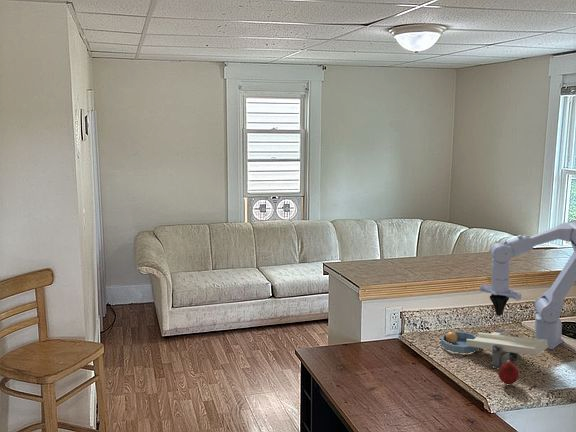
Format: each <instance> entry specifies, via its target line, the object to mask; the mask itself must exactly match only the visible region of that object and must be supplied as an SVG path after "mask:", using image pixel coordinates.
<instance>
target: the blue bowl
mask: <svg viewBox="0 0 576 432" xmlns="http://www.w3.org/2000/svg"><path fill="white" fill-rule="evenodd" d="M453 332H454V333H456V335H457V341H456V342H455V343H452V344H450V343H447V342H448V341H447V340H446V334H447V333H448V331H447V332H446V333H444V334H442V335H441V339H440V342H441V343H440V344H441V345H442V346H443V347H444V348H445V349H447V350H450V351H453V352H458V353H469V352H474V351H476V350H478V351H479V348H478V347H471V346H467V341H466V340H467V339H475V338H476V337H477V335H475V334H473V333H469V332H466V331H456V330H455V331H453ZM446 341H447V342H446ZM441 345H440V346H441Z"/></svg>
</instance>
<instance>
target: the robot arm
mask: <svg viewBox="0 0 576 432" xmlns="http://www.w3.org/2000/svg"><path fill="white" fill-rule="evenodd" d="M556 240H561V241H564V242H568V243H569V242H570V244H571V246H572V249H573V252H572V254H571V256H570V257H569V259H568V260H567V262H566V263H565V265H564V266H563V268H562V269H561V271H560V272H559V274H558V275H557V277H556V279H555V280H554V282H553V283H552V284H551V286H550V288H549V289H548V290H546V291H544V292H543V293H542V294H541V296H539V297H538V298H536V299H535V301H534V303H533V307H534V309H535V311H536V314H535V316H534V317H535V318H534V319H535V322H534V338H533V339H539V340H543V339H545V340H547V343H548V348H547V349H548V350H553V349H555V348H556V347H558V346H559V345H560V344H562V343H563V342H564V341H565V340H564V338H562V334H563V333H562V331H563V330H562V329H563V327H562V326H563V324H562V323H563V322H562V320H561V319H560V317H561V312H562V309H563V308H564V299H565V298H566V296H567V294H568V293H569V292H570V290H571V288H572V287H573V285H574V284H575V282H576V220H569V221H568V222H563V223H560V224H558V225H556V226H554V227H552V228H549V229H546V230H543V231H542V232H539V233H537V234H534V235H532V236H527V235H525V234H524V235H522V234H519V235H516V237H514V238H513V239H510V240H503V242H496V243H494V244H492V246H491V247H490V250H489V253H490V254H491V256H492V258H491V277H490V278H491V281H490V282H491V283H490V284H491V285H487V284H486V285H485V284H480V285H479V288H478V289H479V290H478V291H479V292H485V293H488V294H489V293H490V294H491V295H489V300H490V301H491V303H492V305H493V308H494V312H495V315H496V316H498V317H501V316H503V313H504V310H505V307H506V305H507V303H508V302H509V300H510V299H514V300H515V301H520V300H522V293H519V292H517V291H514V290H512V289H509V287H510V261H511V259H512V258H515V257H517V256H520V255H523V254H526V253H529V252H531V251H533V249H534V247H536V246H539V245H543V244H546V243H550V242H552V241H556Z"/></svg>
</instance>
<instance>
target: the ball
mask: <svg viewBox="0 0 576 432" xmlns="http://www.w3.org/2000/svg"><path fill="white" fill-rule="evenodd" d="M447 332H448V331H447ZM447 332H446V333H447ZM446 333H445V334H446ZM446 340H447V341H448V342H449V343H455V342H456V341H457V335H456V333H454V331H449V332H448V333H447V334H446Z"/></svg>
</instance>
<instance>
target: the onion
mask: <svg viewBox="0 0 576 432" xmlns="http://www.w3.org/2000/svg"><path fill="white" fill-rule="evenodd" d="M497 371H498V372H497V374H498V379H500V381H501V382H502V383H503V382H504V384H505V383H506V384H510V385H513V384H514V383H516V382H518V380H519V377H520V375H519V374H520V373H519V370H518V368H517V366H516V365H515V364H513V363H511V361H510V360H507V362H506V363H505V364H503V365H501V367H500V368H499V370H498V369H497ZM506 384H505V385H506Z"/></svg>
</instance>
